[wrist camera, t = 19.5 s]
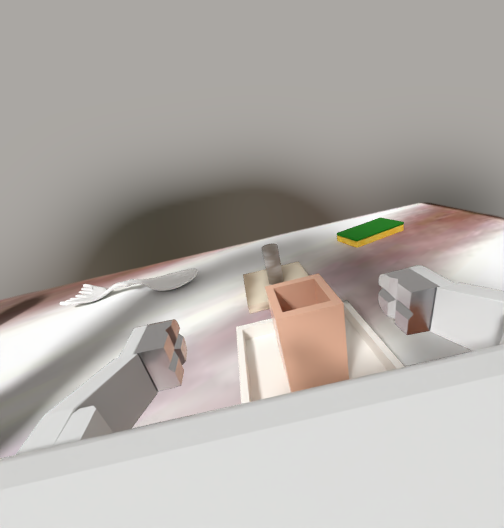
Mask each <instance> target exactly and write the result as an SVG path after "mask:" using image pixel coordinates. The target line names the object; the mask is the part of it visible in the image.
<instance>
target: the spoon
mask: <svg viewBox="0 0 504 528" xmlns="http://www.w3.org/2000/svg"><path fill="white" fill-rule="evenodd" d="M196 275H197V269H195V268H193V269H187V270H183V271H179V272H175V273H171V274H167V275H163V276H160V277H156V278H151V279H137V280H134V279H130V280H128V281H124V282H119V283H116V284H114V285H112V286H111V287H110V288H108V289H106V288H104V287H97V286H93V285H88V284H84V285H83V287H85V288H82V289H81V290H83V291H79V293H81V294H86V295H75V296H76V297H78V298H70V300H66V302H60V304H61V305H64V306H66V305H75V304H81V303H89V302H93V301H96V300H99V299H101V298H103V297H104V296H106V295H107V294H108V293H110V292H111V291H112V290H114V289H115V288H118V287H123V286H125V287H128V286H131V285H133V284H144V285H146V286H148V287H149V288H151V289H154V290H158V291H166V290H172V289H176V288H178V287H181V286H183V285H185V284H186V283H188V282H190V281H191V280H192V279H194V278H195V277H196Z"/></svg>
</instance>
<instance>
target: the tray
mask: <svg viewBox="0 0 504 528" xmlns="http://www.w3.org/2000/svg"><path fill="white" fill-rule="evenodd" d="M342 302H343V303H344V316H345V329H346V343H347V357H348V370H349V379H352V378H357V377H361V376H365V375H370V374H374V373H379V372H383V371H388V370H392V369H396V368H401V367H405V366H404V365H403V364H402V363H401V362H400V361H399V359H398V358H397V357H396V356H395V355H394V354H393V353H392V351H391V350H390V349H389V348H388V347H387V346H386V345H385V343H384V342H383V341H382V340H381V339H380V338H379V337H378V335H377V334H376V333H375V332H374V331H373V330H372V329H371V327H370V326H369V325H368V324H367V323H366V322H365V321H364V319H363V318H362V317H361V316H360V315H359V314H358V313H357V311H356V310H355V309H354V308H353V307H352V306H351V305H350V303H349V302H348V301H347V300H345V301H342ZM236 331H237V346H238V361H239V376H240V391H241V404H243V403H247V402H251V401H256V400H260V399H265V398H269V397H273V396H278V395H282V394H286V393H291V391H290V388H289V384H288V381H287V377H286V374H285V370H284V367H283V363H282V360H281V356H280V352H279V348H278V343H277V339H276V334H275V330H274V325H273V321H272V318H271V319H267V320H263V321H259V322H255V323H251V324H247V325H243V326H239V327H236Z"/></svg>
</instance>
